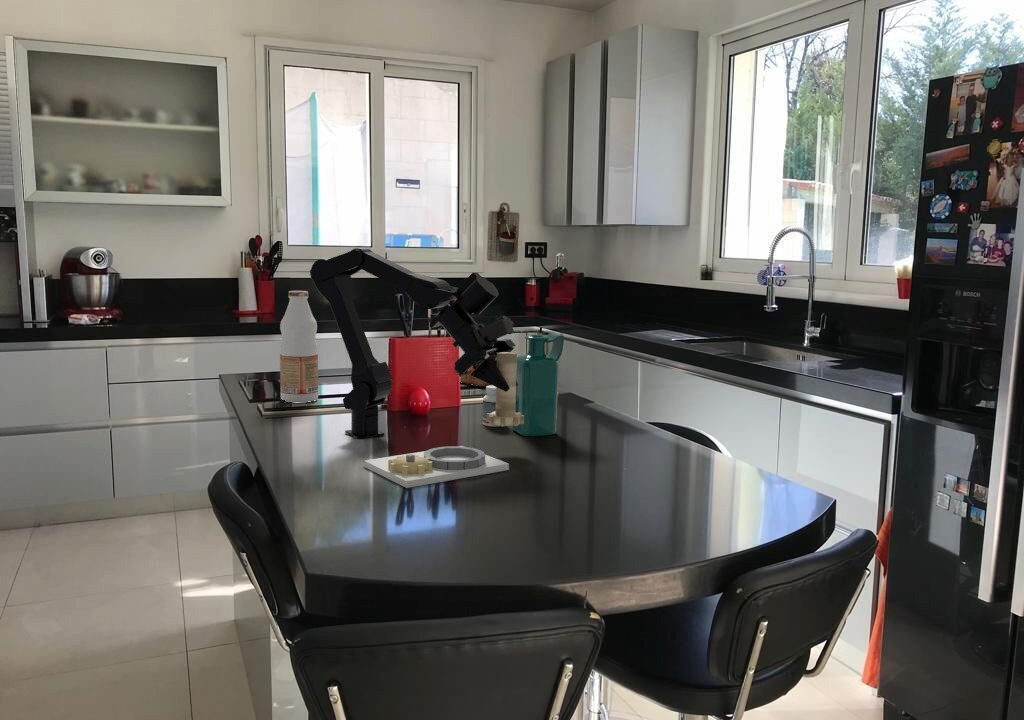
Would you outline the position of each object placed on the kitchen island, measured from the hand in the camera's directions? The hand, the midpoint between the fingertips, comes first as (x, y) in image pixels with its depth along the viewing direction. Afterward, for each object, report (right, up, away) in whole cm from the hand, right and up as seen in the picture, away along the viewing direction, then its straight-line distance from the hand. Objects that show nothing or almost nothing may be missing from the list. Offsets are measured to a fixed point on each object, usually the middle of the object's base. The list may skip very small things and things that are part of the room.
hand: (512, 388), depth 175 cm
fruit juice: (-55, -5, +50) cm, 74 cm away
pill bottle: (-4, -9, +28) cm, 30 cm away
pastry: (-7, -2, +79) cm, 79 cm away
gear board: (-14, -15, -11) cm, 23 cm away
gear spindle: (-1, -7, +2) cm, 7 cm away
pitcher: (+5, -11, +21) cm, 24 cm away
